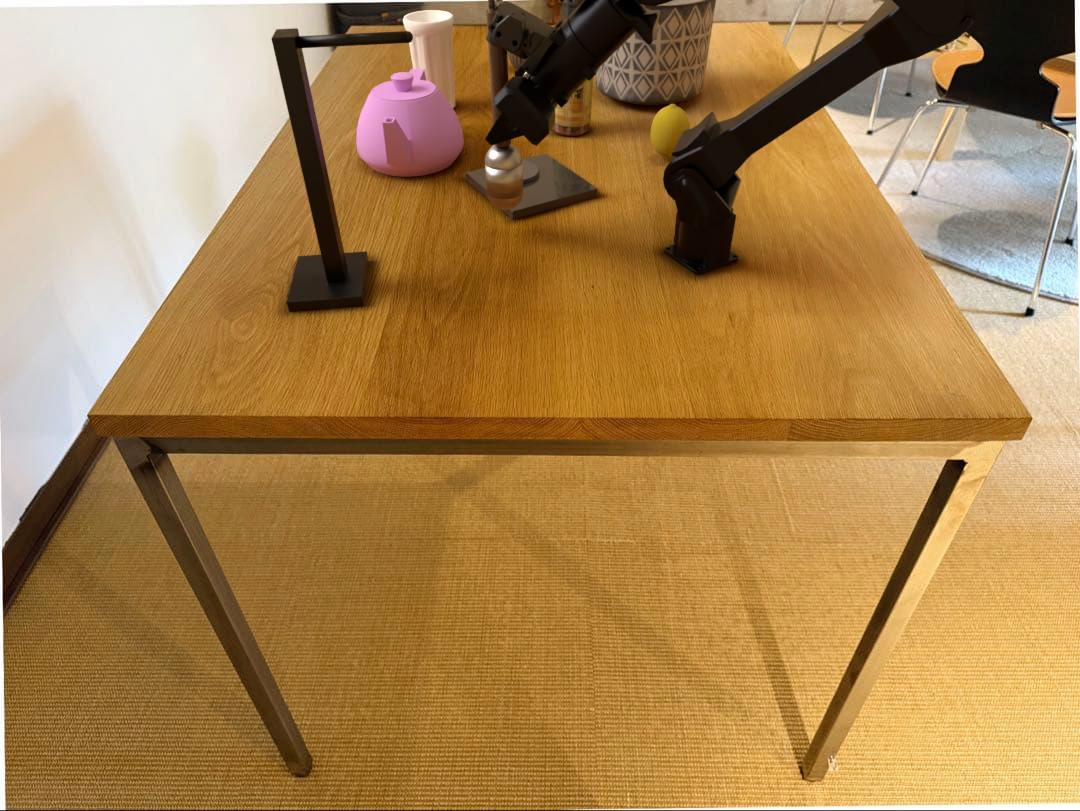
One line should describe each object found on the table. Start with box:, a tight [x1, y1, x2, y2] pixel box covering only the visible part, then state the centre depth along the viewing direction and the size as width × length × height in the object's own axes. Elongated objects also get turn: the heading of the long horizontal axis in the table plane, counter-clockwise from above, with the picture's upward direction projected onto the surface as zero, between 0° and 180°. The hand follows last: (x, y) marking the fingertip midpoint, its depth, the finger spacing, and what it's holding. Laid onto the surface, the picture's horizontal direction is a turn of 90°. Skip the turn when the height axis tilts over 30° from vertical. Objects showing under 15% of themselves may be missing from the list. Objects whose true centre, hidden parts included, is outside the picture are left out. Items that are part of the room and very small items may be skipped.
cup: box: [402, 9, 456, 109], centre depth 124 cm, size 8×8×14 cm
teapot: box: [355, 68, 465, 178], centre depth 109 cm, size 22×16×12 cm
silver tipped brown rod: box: [484, 0, 523, 211], centre depth 84 cm, size 4×4×26 cm
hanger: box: [271, 27, 413, 312], centre depth 78 cm, size 16×10×26 cm, turn 97°
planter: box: [595, 0, 717, 106], centre depth 127 cm, size 19×19×16 cm
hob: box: [464, 152, 599, 220], centre depth 104 cm, size 14×13×2 cm
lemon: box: [650, 103, 691, 161], centre depth 109 cm, size 6×6×8 cm
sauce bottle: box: [551, 0, 594, 137], centre depth 114 cm, size 7×6×20 cm
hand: (490, 138), depth 87 cm, fingers closed on silver tipped brown rod, 2 cm apart
